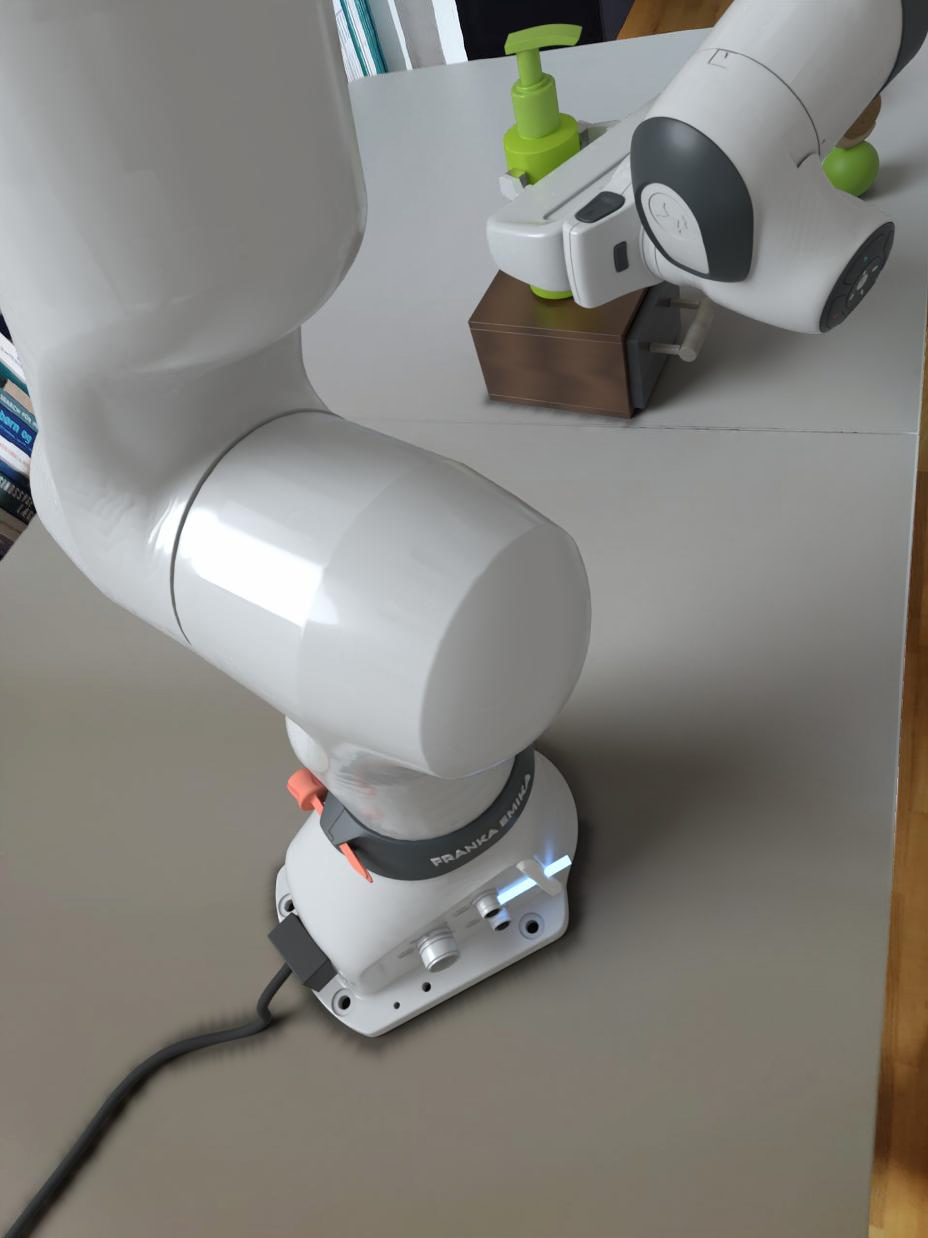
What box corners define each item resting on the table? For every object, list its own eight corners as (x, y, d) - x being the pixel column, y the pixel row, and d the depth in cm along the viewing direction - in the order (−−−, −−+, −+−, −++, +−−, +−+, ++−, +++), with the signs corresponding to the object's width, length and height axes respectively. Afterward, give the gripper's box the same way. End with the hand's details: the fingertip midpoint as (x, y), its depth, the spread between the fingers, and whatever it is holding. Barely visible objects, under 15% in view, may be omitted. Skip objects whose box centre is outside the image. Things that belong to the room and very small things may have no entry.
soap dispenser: (602, 295, 74) (574, 44, 58) (525, 301, 76) (477, 60, 60) (610, 254, 77) (585, 5, 61) (535, 261, 79) (492, 21, 63)
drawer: (725, 330, 81) (726, 258, 75) (690, 414, 76) (688, 345, 70) (553, 314, 89) (540, 248, 82) (511, 391, 84) (494, 327, 77)
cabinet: (671, 328, 84) (666, 241, 77) (630, 419, 79) (621, 335, 71) (536, 316, 90) (519, 234, 83) (489, 399, 85) (467, 321, 77)
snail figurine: (799, 200, 90) (809, 82, 81) (849, 172, 91) (865, 51, 81) (835, 221, 87) (850, 100, 78) (886, 192, 88) (908, 68, 78)
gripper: (769, 86, 60) (628, 50, 68) (558, 244, 56) (434, 187, 64) (765, 172, 65) (634, 129, 73) (572, 323, 61) (455, 261, 69)
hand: (539, 157), depth 68 cm, fingers closed on soap dispenser, 6 cm apart
